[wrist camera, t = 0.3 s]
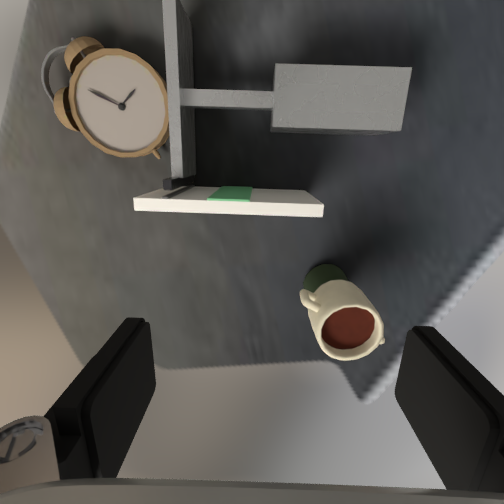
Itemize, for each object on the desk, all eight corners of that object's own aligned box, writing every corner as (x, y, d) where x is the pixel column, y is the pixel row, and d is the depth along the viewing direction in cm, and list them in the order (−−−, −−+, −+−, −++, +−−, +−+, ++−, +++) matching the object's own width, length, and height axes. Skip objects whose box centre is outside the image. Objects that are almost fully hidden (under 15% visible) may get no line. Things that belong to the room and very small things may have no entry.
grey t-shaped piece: (181, 24, 33) (146, -35, 23) (280, 27, 33) (289, -31, 23) (187, 181, 38) (161, 190, 28) (272, 183, 38) (276, 194, 28)
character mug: (279, 285, 43) (288, 336, 31) (305, 244, 41) (324, 283, 29) (341, 316, 44) (373, 378, 32) (368, 279, 42) (413, 329, 30)
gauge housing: (272, 81, 35) (275, 63, 28) (381, 85, 35) (412, 67, 28) (269, 132, 36) (272, 126, 30) (373, 135, 36) (400, 130, 29)
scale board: (170, 184, 39) (133, 195, 27) (304, 188, 39) (324, 202, 27) (170, 194, 39) (134, 210, 28) (304, 199, 39) (322, 217, 28)
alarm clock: (153, 174, 36) (17, 114, 32) (159, 169, 40) (41, 116, 36) (187, 82, 33) (41, 1, 28) (189, 88, 37) (64, 18, 33)
